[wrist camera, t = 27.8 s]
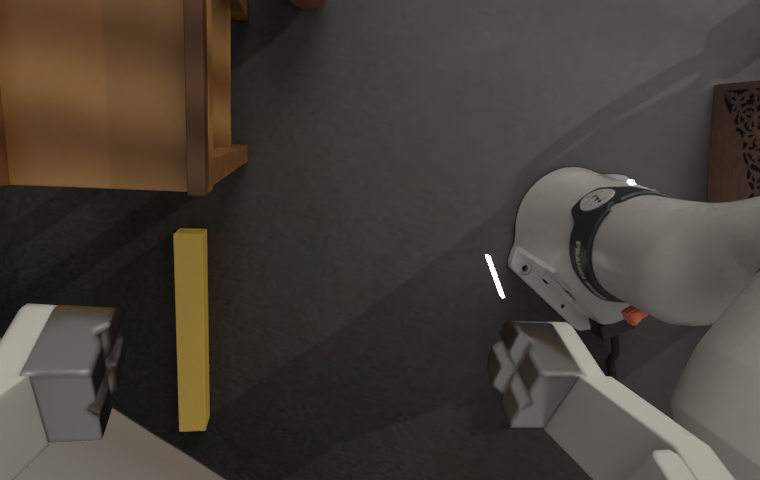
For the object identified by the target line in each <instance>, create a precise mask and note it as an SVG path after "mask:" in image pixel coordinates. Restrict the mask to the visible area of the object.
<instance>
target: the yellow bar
mask: <svg viewBox="0 0 760 480" xmlns="http://www.w3.org/2000/svg"><path fill="white" fill-rule="evenodd" d="M173 241H174V274H175V307H176V341H177V374H178V407H179V432H185V431H205V430H206V427H207V424H208V421H209V417H210V399H209V331H208V264H207V229H189V228H180V229H178V230H177V231H176V232H175V233H174V234H173Z"/></svg>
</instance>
